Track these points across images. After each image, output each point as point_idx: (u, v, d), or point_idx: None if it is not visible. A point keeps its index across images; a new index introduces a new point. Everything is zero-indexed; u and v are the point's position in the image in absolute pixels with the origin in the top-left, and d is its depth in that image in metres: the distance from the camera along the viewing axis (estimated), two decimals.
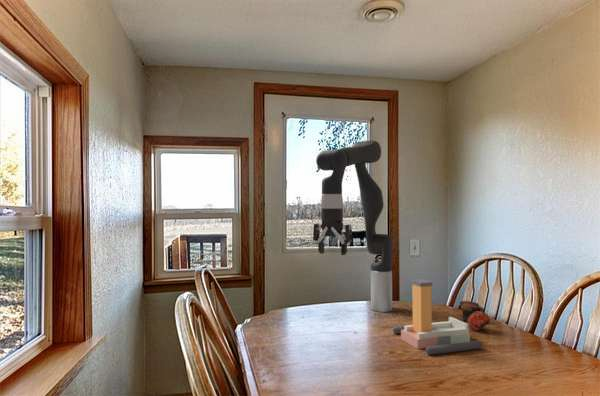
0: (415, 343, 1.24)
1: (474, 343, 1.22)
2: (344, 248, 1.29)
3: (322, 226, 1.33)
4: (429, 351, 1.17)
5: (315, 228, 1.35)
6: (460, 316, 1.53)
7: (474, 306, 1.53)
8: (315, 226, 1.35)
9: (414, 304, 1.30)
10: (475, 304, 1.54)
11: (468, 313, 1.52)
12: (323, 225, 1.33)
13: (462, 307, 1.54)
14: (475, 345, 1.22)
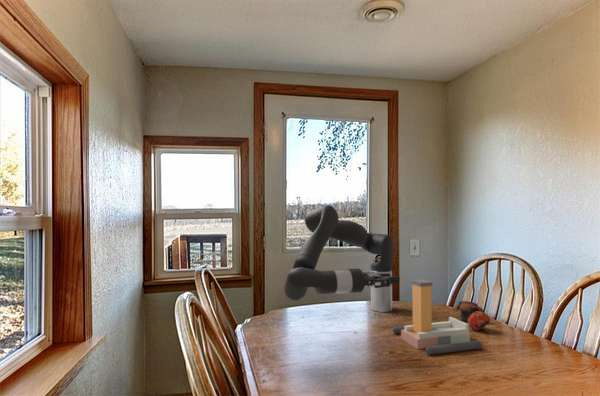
0: (415, 343, 1.24)
1: (474, 343, 1.22)
2: (393, 282, 1.22)
3: None
4: (429, 351, 1.17)
5: None
6: (459, 316, 1.53)
7: (473, 306, 1.53)
8: None
9: (414, 304, 1.30)
10: (474, 304, 1.54)
11: (467, 313, 1.52)
12: None
13: (461, 307, 1.54)
14: (475, 345, 1.22)
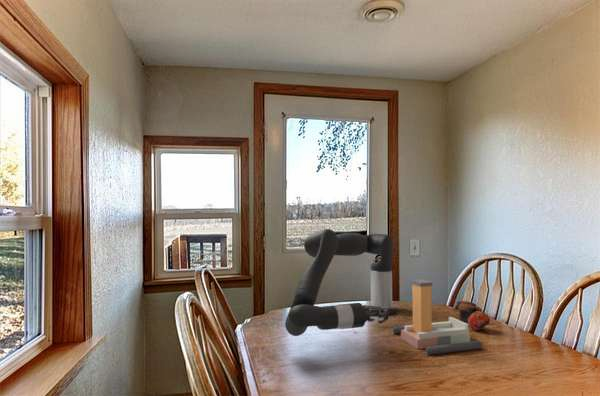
0: (415, 343, 1.24)
1: (474, 343, 1.22)
2: None
3: None
4: (429, 351, 1.17)
5: None
6: (457, 316, 1.53)
7: (471, 306, 1.53)
8: None
9: (414, 304, 1.30)
10: (472, 304, 1.54)
11: (465, 313, 1.51)
12: None
13: (459, 307, 1.54)
14: (475, 345, 1.22)
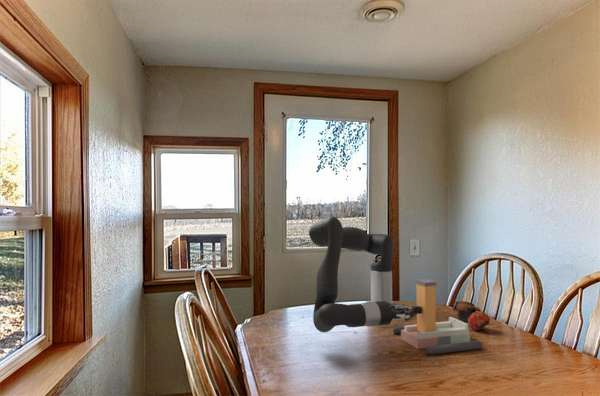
0: (415, 343, 1.24)
1: (474, 343, 1.22)
2: (416, 312, 1.27)
3: None
4: (429, 351, 1.17)
5: None
6: (456, 316, 1.53)
7: (469, 306, 1.53)
8: None
9: (418, 304, 1.30)
10: (470, 304, 1.54)
11: (464, 313, 1.51)
12: None
13: (458, 307, 1.54)
14: (475, 345, 1.22)
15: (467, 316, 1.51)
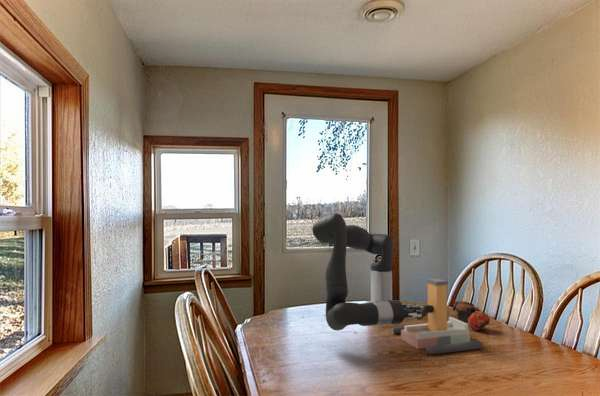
0: (415, 343, 1.24)
1: (474, 343, 1.22)
2: (428, 311, 1.28)
3: None
4: (429, 351, 1.17)
5: None
6: (455, 316, 1.53)
7: (469, 306, 1.52)
8: None
9: (429, 303, 1.31)
10: (470, 304, 1.54)
11: (463, 313, 1.51)
12: None
13: (457, 307, 1.54)
14: (475, 345, 1.22)
15: (466, 316, 1.50)
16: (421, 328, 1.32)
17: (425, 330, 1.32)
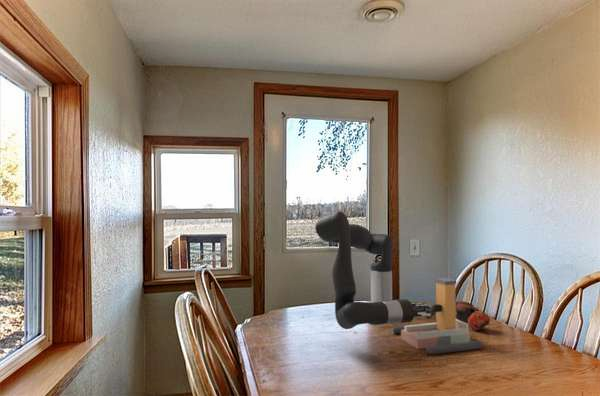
0: (415, 343, 1.24)
1: (474, 343, 1.22)
2: None
3: None
4: (429, 351, 1.17)
5: None
6: None
7: (468, 306, 1.52)
8: None
9: (438, 302, 1.32)
10: (469, 304, 1.53)
11: (462, 313, 1.51)
12: None
13: (456, 307, 1.53)
14: (475, 345, 1.22)
15: (465, 316, 1.50)
16: (421, 328, 1.32)
17: (425, 330, 1.32)
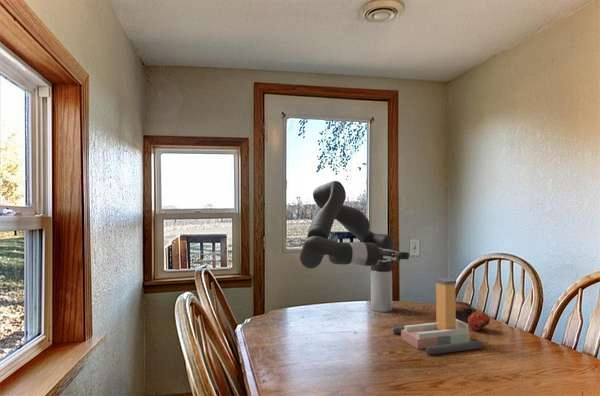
0: (415, 343, 1.24)
1: (474, 343, 1.22)
2: (403, 258, 1.27)
3: None
4: (429, 351, 1.17)
5: None
6: None
7: (466, 306, 1.52)
8: None
9: (438, 302, 1.32)
10: (466, 304, 1.53)
11: (460, 314, 1.51)
12: None
13: None
14: (475, 345, 1.22)
15: (463, 316, 1.50)
16: (421, 328, 1.32)
17: (425, 330, 1.32)
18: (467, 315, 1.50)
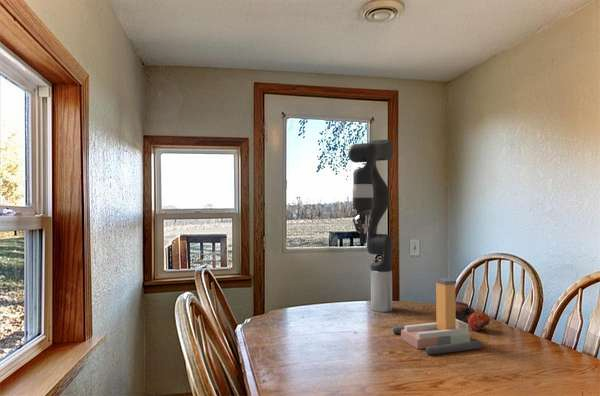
0: (415, 343, 1.24)
1: (474, 343, 1.22)
2: (360, 237, 1.42)
3: None
4: (429, 351, 1.17)
5: None
6: None
7: (464, 307, 1.52)
8: None
9: (438, 302, 1.32)
10: (465, 305, 1.53)
11: (458, 314, 1.51)
12: None
13: None
14: (475, 345, 1.22)
15: (461, 317, 1.50)
16: (421, 328, 1.32)
17: (425, 330, 1.32)
18: (465, 315, 1.50)
